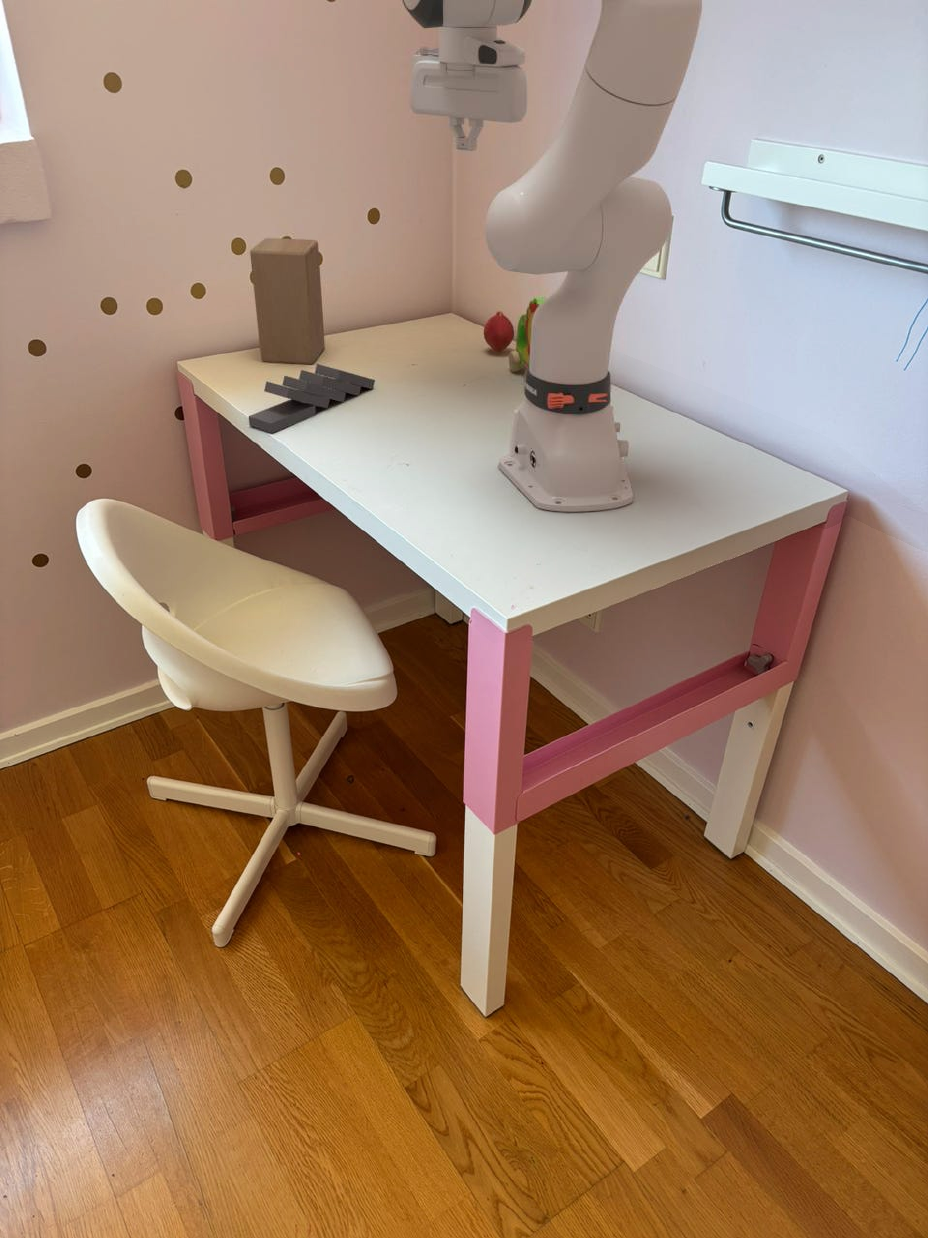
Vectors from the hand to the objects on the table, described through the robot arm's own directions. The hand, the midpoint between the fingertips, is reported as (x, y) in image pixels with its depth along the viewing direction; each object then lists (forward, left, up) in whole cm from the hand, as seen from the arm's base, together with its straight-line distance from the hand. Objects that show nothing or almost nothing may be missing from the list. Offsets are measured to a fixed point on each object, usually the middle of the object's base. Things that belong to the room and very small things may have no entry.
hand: (465, 149), depth 152 cm
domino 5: (-3, +18, -36) cm, 41 cm away
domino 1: (-12, +27, -36) cm, 46 cm away
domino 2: (-14, +29, -36) cm, 48 cm away
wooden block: (+15, +30, -37) cm, 50 cm away
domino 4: (-6, +21, -36) cm, 42 cm away
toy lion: (-5, -12, -37) cm, 40 cm away
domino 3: (-9, +24, -36) cm, 44 cm away
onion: (+12, -9, -37) cm, 40 cm away
